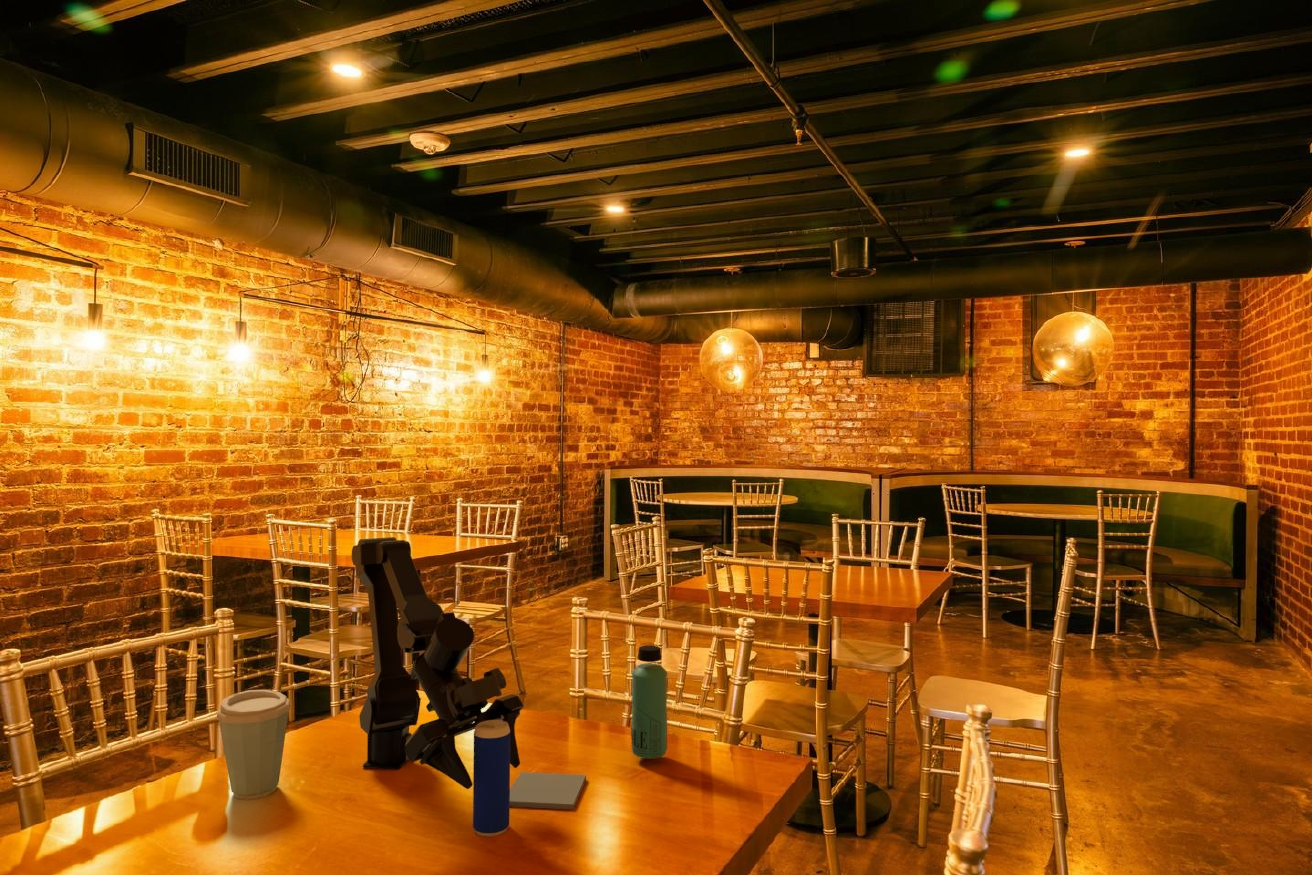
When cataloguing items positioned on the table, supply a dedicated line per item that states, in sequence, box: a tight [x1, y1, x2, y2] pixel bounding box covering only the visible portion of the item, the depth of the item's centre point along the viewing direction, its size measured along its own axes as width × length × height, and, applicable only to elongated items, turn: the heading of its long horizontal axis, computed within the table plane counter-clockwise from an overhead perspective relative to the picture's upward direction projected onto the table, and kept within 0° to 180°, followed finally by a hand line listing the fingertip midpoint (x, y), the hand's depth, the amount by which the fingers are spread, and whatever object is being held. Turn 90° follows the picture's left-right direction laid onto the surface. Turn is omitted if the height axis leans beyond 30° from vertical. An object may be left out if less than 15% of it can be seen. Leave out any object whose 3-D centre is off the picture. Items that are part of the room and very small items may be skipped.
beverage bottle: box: [630, 644, 669, 759], centre depth 143 cm, size 6×7×20 cm
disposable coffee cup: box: [215, 689, 292, 801], centre depth 129 cm, size 11×11×15 cm
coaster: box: [510, 771, 587, 811], centre depth 130 cm, size 11×11×1 cm
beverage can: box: [472, 720, 511, 838], centre depth 117 cm, size 5×5×15 cm
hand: (494, 776), depth 117 cm, fingers open, 9 cm apart
